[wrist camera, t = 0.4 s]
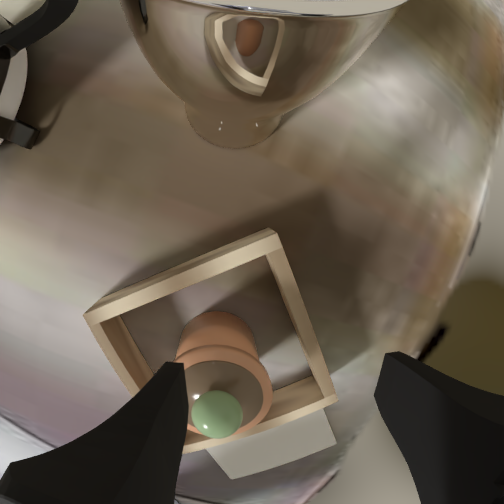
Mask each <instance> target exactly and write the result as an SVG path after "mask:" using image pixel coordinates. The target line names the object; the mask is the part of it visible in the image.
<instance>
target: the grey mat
mask: <svg viewBox="0 0 504 504" xmlns="http://www.w3.org/2000/svg"><path fill="white" fill-rule="evenodd" d="M335 444H337V442H336V440H335V437H334V435H333V432H332V429H331V427H330V424H329V422H328V419H327V417H326V414H325V412H324V409H323V408H322V409H320V410H317V411H315V412H313V413H310V414H308V415H305V416H303V417H300V418H298V419H295V420H293V421H290V422H288V423H285V424H282V425H280V426H277V427H274V428H271V429H268V430H266V431H263V432H260V433H257V434H254V435H251V436H248V437H244V438H241V439H238V440H235V441H231V442H228V443H224V444H221V445H217V446H214V447H210V448H206V450H207V451H208V452H209V453H210V455H211V456H212V457H213V458H214V460H215V461H216V462H217V463H218V464H219V466H220V467H221V468H222V469H223V470H224V472H225V473H226V474H227V475H228V476H229V478H230V479H231V480H232V479H236V478H240V477H244V476H248V475H251V474H255V473H258V472H261V471H265V470H268V469H271V468H274V467H277V466H280V465H283V464H286V463H289V462H292V461H295V460H297V459H300V458H303V457H306V456H308V455H311V454H313V453H316V452H318V451H321V450H323V449H326V448H328V447H330V446H333V445H335Z"/></svg>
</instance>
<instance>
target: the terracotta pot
mask: <svg viewBox="0 0 504 504" xmlns="http://www.w3.org/2000/svg"><path fill="white" fill-rule="evenodd" d="M173 362H177V363H184V370H185V379H186V387H187V395H188V403H189V413H188V425H187V429H188V430H190V431H193V432H195V433H198V434H202V435H205V436H207V437H210V438H215V439H221V438H226V437H228V436H231V435H235V434H239V433H242V432H245V431H247V430H249V429H251V428H252V427H254V426H255V425H257V424H258V423H259V422H260V421H261V420H262V419H263V418H264V417H265V416H266V414H267V413H268V411H269V409H270V407H271V404H272V399H273V390H272V385H271V381H270V378H269V375H268V373H267V371H266V369H265V367H264V366H263V365H262V364H261V362H260V361H259V357H258V353H257V349H256V344H255V340H254V336H253V333H252V331H251V329H250V328H249V326H248V325H247V324H246V323H245V322H244V321H243V320H242V319H240V318H239V317H237V316H235V315H233V314H230V313H227V312H222V311H212V312H206V313H203V314H200V315H198V316H196V317H195V318H193V319H192V320H191V321H190V322H189V323H188V324H187V325H186V326H185V328H184V330H183V332H182V335H181V338H180V342H179V346H178V350H177V353H176V357H175V360H174V361H173Z"/></svg>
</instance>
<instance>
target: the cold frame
mask: <svg viewBox="0 0 504 504" xmlns="http://www.w3.org/2000/svg"><path fill="white" fill-rule="evenodd" d="M263 255H266V258H267V260H268V262H269V265H270V267H271V270H272V272H273V275H274V278H275V280H276V283H277V285H278V288H279V290H280V293H281V295H282V298H283V300H284V303H285V305H286V308H287V310H288V313H289V315H290V318H291V320H292V323H293V325H294V328H295V331H296V333H297V336H298V338H299V341H300V343H301V346H302V348H303V351H304V354H305V356H306V359H307V361H308V364H309V366H310V369H311V372H312V374H313V375H312V376H310V377H307V378H305V379H303V380H300V381H298V382H295V383H293V384H290V385H288V386H286V387H283V388H281V389H278V390H275V391H273V399H272V404H271V407H270V409H269V411H268V413H267V414H266V416H265V417H264V418H263V419H262V420H261V421H260V422H259V423H258V424H257V425H255V426H254V427H252V428H251V429H249V430H247V431H245V432H242V433H239V434H235V435H231V436H228V437H226V438H221V439H215V438H210V437H207V436H205V435H202V434H198V433H195V432H193V431H190V430H188V429H187V433H186V438H185V443H184V448H183V452H182V454H186V453H190V452H194V451H198V450H202V449H206V448H210V447H214V446H217V445H221V444H224V443H228V442H231V441H235V440H238V439H241V438H244V437H248V436H251V435H254V434H257V433H260V432H263V431H266V430H268V429H271V428H274V427H277V426H280V425H282V424H285V423H288V422H290V421H293V420H295V419H298V418H300V417H303V416H305V415H308V414H310V413H313V412H315V411H317V410H320V409H322V408H324V407H327V406H329V405H331V404H333V403H335V402H338V398H337V395H336V392H335V389H334V386H333V383H332V380H331V378H330V375H329V372H328V369H327V366H326V363H325V360H324V358H323V355H322V352H321V349H320V346H319V344H318V341H317V338H316V335H315V332H314V330H313V327H312V324H311V321H310V319H309V316H308V313H307V311H306V308H305V305H304V302H303V300H302V297H301V294H300V292H299V289H298V286H297V284H296V281H295V278H294V276H293V273H292V270H291V268H290V265H289V263H288V260H287V257H286V255H285V252H284V250H283V247H282V244H281V242H280V239H279V237H278V234H277V233H276V232H275V231H273V230H272V229H270V228H269V227H268V228H266V229H263V230H261V231H259V232H256V233H254V234H251V235H249V236H246V237H244V238H242V239H239V240H237V241H234V242H232V243H230V244H227V245H225V246H222V247H220V248H218V249H215V250H213V251H210V252H208V253H206V254H203V255H201V256H199V257H196V258H194V259H191V260H189V261H187V262H184V263H182V264H180V265H177V266H175V267H173V268H170V269H168V270H166V271H163V272H161V273H159V274H156V275H154V276H152V277H149V278H147V279H145V280H142V281H140V282H138V283H135V284H133V285H131V286H128V287H126V288H124V289H122V290H119V291H117V292H115V293H112V294H110V295H108V296H105V297H103V298H101V299H99V300H98V301H97V302H96V303H95V304H94V305H93V306H92V307H91V308H89V309H88V310H87V311H86V312H85V313H84V314H83V317H84V319H85V320H86V322H87V324H88V326H89V328H90V330H91V331H92V333H93V335H94V337H95V338H96V340H97V342H98V344H99V345H100V347H101V349H102V351H103V352H104V354H105V356H106V357H107V359H108V360H109V362H110V364H111V365H112V367H113V368H114V370H115V372H116V373H117V375H118V376H119V378H120V379H121V381H122V382H123V384H124V385H125V387H126V388H127V390H128V391H129V393H130V394H131V396H132V397H134V396H135V395H136V394H137V393H138V392H139V391H140V390H141V389H142V388H143V387H144V386H145V385H146V383H147V382H148V381H149V380H150V379H151V378H152V377H153V376H154V374H153V372H152V371H151V369H150V367H149V366H148V364H147V362H146V361H145V359H144V357H143V356H142V354H141V352H140V351H139V349H138V347H137V346H136V344H135V342H134V340H133V339H132V337H131V335H130V333H129V331H128V330H127V328H126V326H125V324H124V322H123V320H122V318H121V317H120V314H122V313H124V312H127V311H129V310H132V309H134V308H137V307H139V306H142V305H144V304H147V303H149V302H151V301H154V300H156V299H159V298H161V297H164V296H166V295H169V294H171V293H173V292H176V291H178V290H181V289H183V288H186V287H188V286H190V285H193V284H195V283H198V282H200V281H203V280H205V279H207V278H210V277H212V276H215V275H217V274H220V273H222V272H224V271H227V270H229V269H232V268H234V267H236V266H239V265H241V264H244V263H246V262H248V261H251V260H253V259H256V258H258V257H261V256H263Z"/></svg>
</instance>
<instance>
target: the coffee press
mask: <svg viewBox="0 0 504 504" xmlns="http://www.w3.org/2000/svg"><path fill="white" fill-rule="evenodd" d="M77 3H78V0H46V2H45V3H44V4H43V5H42V7H40V8H39V9H38V10H37V11H36V12H34V13H33V14H31V15H30V16H28V17H27V18H25V19H24V20H22V21H20V22H19V23H15V24H12V23H11V22H9V21H8V20H6V19H5V18H4V17H2V16H1V15H0V145H1V143H2V141H3V140H4V139H5V140H8V141H11V142H13V143H15V144H18V145H20V146H22V147H25V148H27V149H32V147H33V145H34V143H35V141H36V139H37V137H38V135H39V133H40V131H39V130H38V129H36V128H34V127H33V126H31V125H29V124H27V123H25V122H23V121H21V120H19V119H17V118H15V116H16V114H17V111H18V109H19V106H20V103H21V100H22V97H23V93H24V89H25V84H26V78H27V51H26V47H27V46H29V45H31V44H32V43H34V42H36V41H37V40H39V39H41V38H42V37H44V36H45V35H47V34H48V33H50V32H51V31H53V30H54V29H56V28H57V27H58V26H59V25H61V24H62V23H63V22H64V21H65V20H66V19H67V18H68V17H69V16H70V15H71V13H72V12H73V11H74V9H75V7H76V5H77ZM10 26H12V27H10Z"/></svg>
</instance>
